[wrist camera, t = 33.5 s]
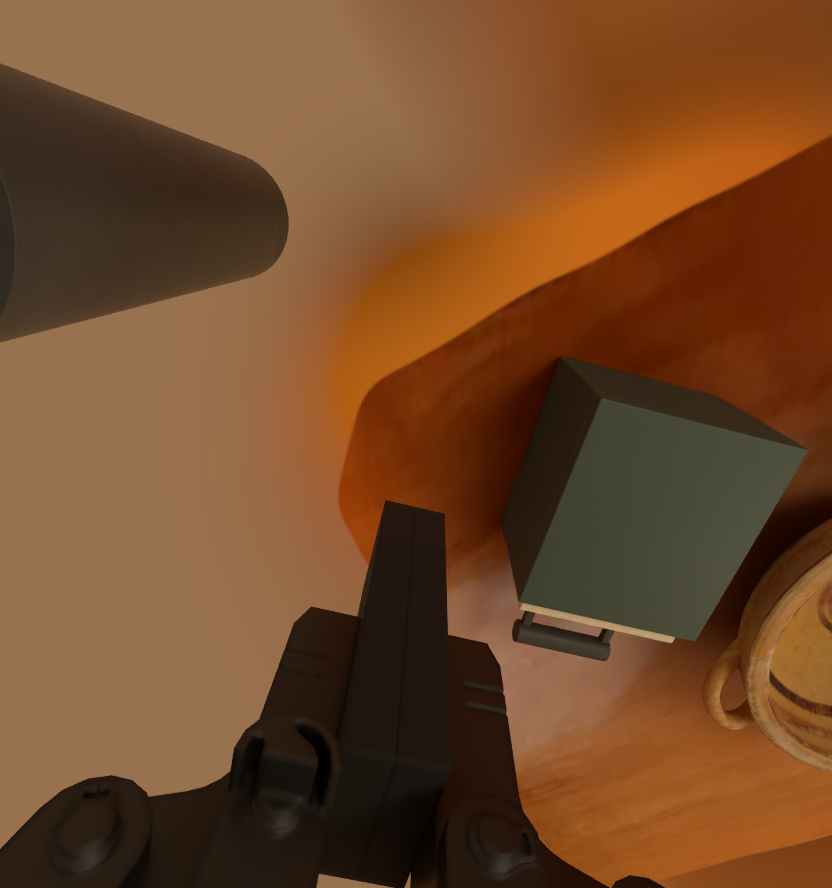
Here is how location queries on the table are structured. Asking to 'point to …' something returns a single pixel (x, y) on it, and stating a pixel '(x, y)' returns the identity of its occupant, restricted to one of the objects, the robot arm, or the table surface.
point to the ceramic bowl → (785, 654)
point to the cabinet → (640, 499)
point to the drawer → (571, 633)
